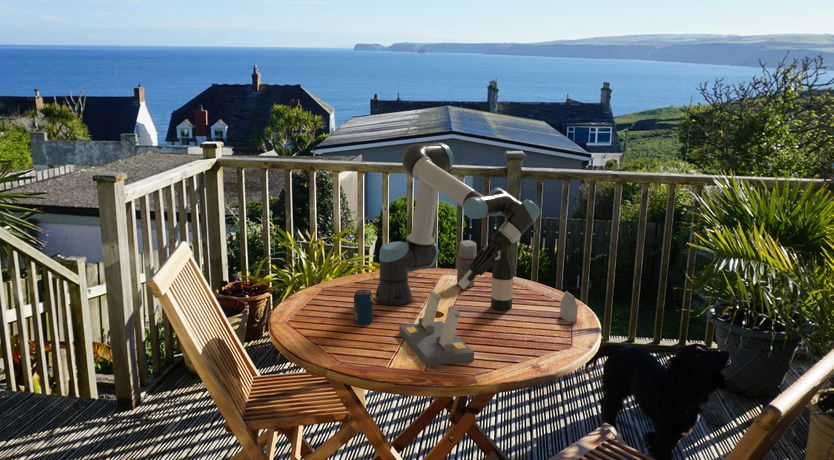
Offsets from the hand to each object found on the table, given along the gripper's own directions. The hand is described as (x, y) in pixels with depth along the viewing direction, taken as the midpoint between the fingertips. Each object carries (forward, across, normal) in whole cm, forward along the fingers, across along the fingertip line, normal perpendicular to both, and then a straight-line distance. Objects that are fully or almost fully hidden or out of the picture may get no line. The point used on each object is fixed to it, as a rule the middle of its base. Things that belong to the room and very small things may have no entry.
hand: (460, 286), depth 239 cm
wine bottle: (-7, +22, -32) cm, 40 cm away
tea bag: (-20, +3, -46) cm, 50 cm away
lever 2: (+19, -17, -1) cm, 26 cm away
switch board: (+21, -8, -4) cm, 23 cm away
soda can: (+34, +21, +9) cm, 41 cm away
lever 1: (+19, +1, -1) cm, 19 cm away
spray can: (-5, +54, -30) cm, 63 cm away
